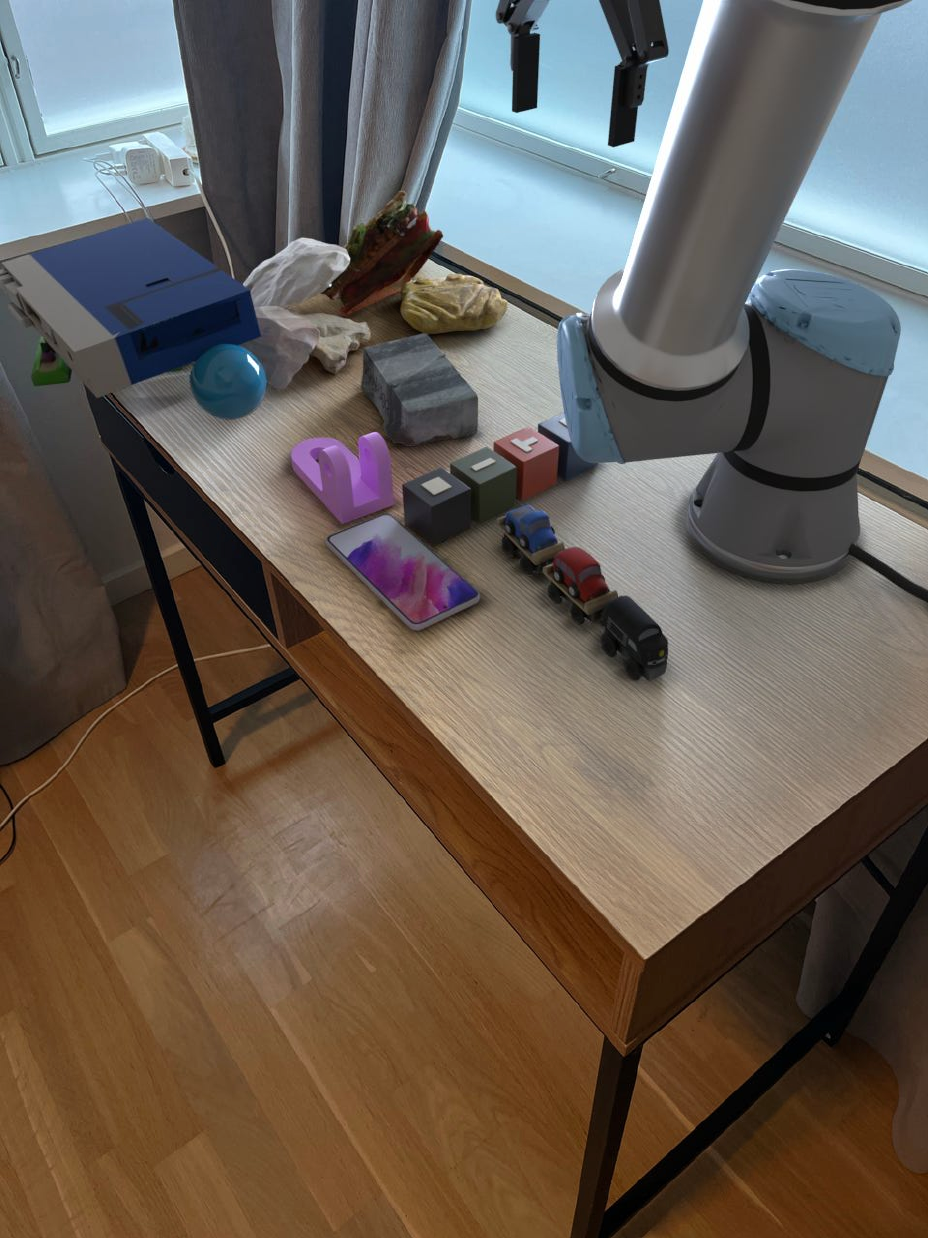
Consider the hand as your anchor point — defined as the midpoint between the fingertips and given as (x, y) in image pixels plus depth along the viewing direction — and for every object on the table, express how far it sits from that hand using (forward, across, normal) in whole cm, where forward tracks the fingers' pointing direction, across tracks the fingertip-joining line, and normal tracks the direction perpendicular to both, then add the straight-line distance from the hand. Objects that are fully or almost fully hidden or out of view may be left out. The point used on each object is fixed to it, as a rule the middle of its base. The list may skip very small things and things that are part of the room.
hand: (570, 126), depth 93 cm
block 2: (+27, +14, -22) cm, 37 cm away
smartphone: (+27, +18, -34) cm, 47 cm away
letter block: (+27, +14, -16) cm, 34 cm away
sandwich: (+24, -26, -3) cm, 35 cm away
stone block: (+27, -4, -17) cm, 32 cm away
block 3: (+27, +14, -11) cm, 32 cm away
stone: (+27, -22, -16) cm, 38 cm away
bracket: (+27, +2, -31) cm, 41 cm away
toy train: (+27, +30, -25) cm, 47 cm away
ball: (+25, -18, -36) cm, 47 cm away
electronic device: (+18, -17, -38) cm, 45 cm away
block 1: (+27, +14, -28) cm, 41 cm away
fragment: (+24, -31, -14) cm, 42 cm away
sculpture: (+25, -14, -3) cm, 28 cm away
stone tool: (+24, -16, -23) cm, 37 cm away
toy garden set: (+27, -39, -33) cm, 58 cm away
